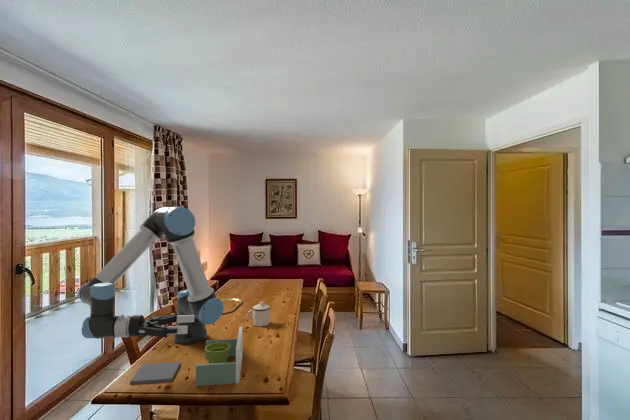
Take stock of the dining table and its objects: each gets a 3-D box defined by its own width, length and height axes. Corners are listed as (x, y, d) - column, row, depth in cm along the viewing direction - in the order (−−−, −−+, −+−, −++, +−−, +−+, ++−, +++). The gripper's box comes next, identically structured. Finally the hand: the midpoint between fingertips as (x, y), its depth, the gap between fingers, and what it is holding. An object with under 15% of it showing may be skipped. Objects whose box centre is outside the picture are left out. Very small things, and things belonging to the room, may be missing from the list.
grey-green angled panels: (195, 386, 122) (195, 351, 122) (206, 357, 146) (206, 328, 146) (239, 383, 124) (239, 348, 124) (242, 355, 148) (242, 326, 148)
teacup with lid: (270, 321, 193) (270, 300, 193) (268, 326, 184) (268, 304, 184) (249, 321, 194) (249, 300, 194) (245, 326, 185) (245, 304, 185)
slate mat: (129, 384, 123) (129, 381, 123) (142, 366, 137) (142, 364, 137) (172, 381, 125) (172, 378, 125) (180, 364, 139) (180, 361, 139)
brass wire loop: (245, 300, 240) (245, 298, 240) (229, 316, 205) (229, 313, 205) (218, 300, 241) (218, 297, 241) (198, 315, 206) (198, 312, 206)
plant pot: (223, 376, 129) (223, 352, 129) (200, 373, 131) (200, 350, 131) (234, 365, 138) (234, 343, 138) (212, 363, 140) (212, 341, 140)
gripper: (117, 326, 118) (184, 324, 121) (142, 307, 142) (196, 305, 146) (117, 349, 118) (183, 346, 121) (141, 325, 142) (196, 323, 146)
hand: (191, 323), depth 133 cm, fingers open, 13 cm apart
